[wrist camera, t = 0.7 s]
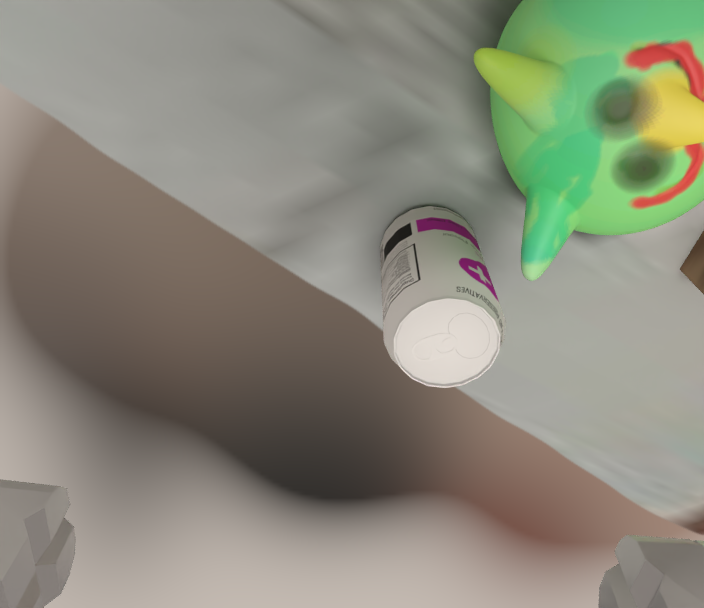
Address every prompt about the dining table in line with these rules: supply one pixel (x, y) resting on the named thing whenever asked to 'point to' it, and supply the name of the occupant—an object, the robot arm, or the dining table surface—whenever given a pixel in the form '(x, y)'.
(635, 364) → the dining table surface
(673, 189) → the toy bird
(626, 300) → the dining table surface
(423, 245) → the supplement can
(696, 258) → the walnut cube
